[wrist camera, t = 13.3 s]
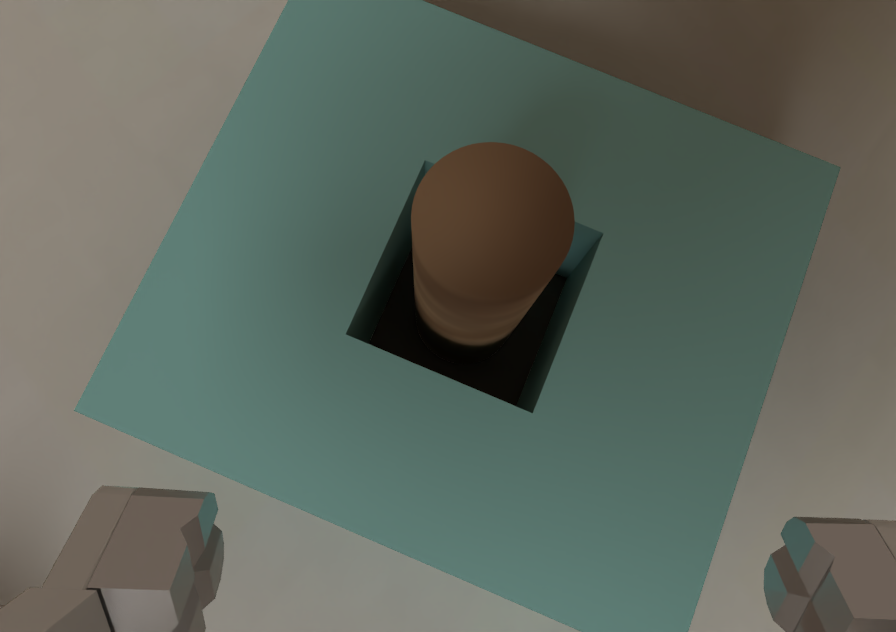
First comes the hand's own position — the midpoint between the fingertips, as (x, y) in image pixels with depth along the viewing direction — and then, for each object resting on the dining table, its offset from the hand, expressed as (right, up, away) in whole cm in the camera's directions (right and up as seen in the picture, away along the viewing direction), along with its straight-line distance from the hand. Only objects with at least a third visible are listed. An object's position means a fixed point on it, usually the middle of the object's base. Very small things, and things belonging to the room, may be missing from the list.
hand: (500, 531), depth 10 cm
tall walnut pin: (0, +3, +13) cm, 14 cm away
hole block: (0, +3, +13) cm, 14 cm away
